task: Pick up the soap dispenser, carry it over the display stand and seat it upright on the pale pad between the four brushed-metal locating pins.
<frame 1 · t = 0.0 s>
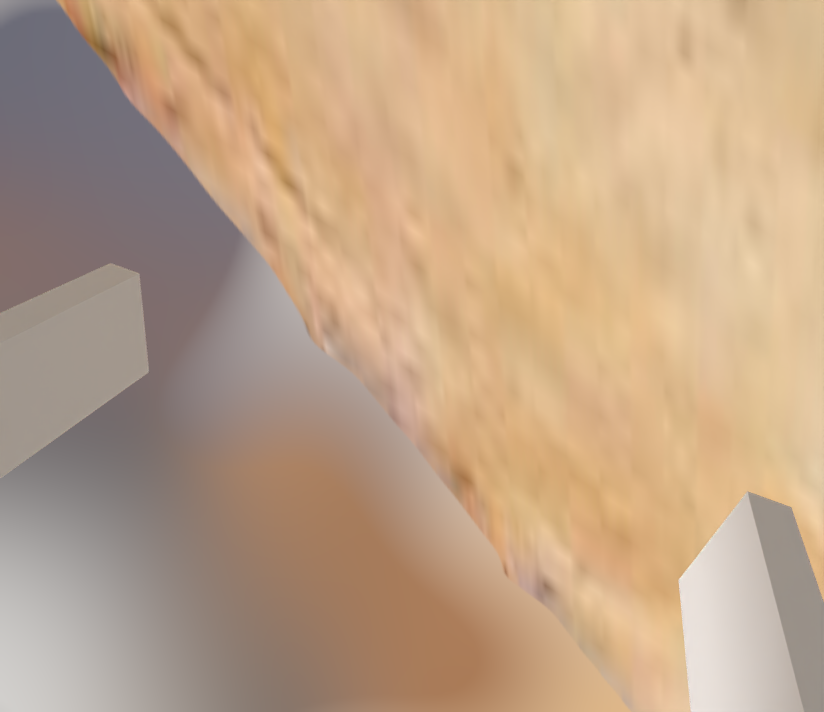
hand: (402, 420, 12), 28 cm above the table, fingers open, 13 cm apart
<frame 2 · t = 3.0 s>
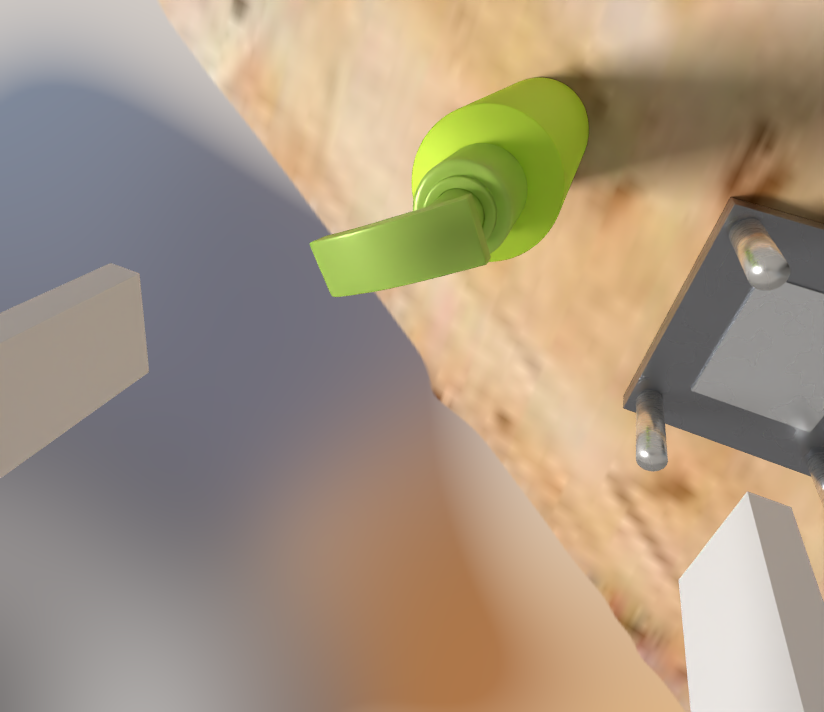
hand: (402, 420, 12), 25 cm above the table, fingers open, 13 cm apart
soap dispenser: (526, 137, 32), on the table
display stand: (781, 344, 33), on the table
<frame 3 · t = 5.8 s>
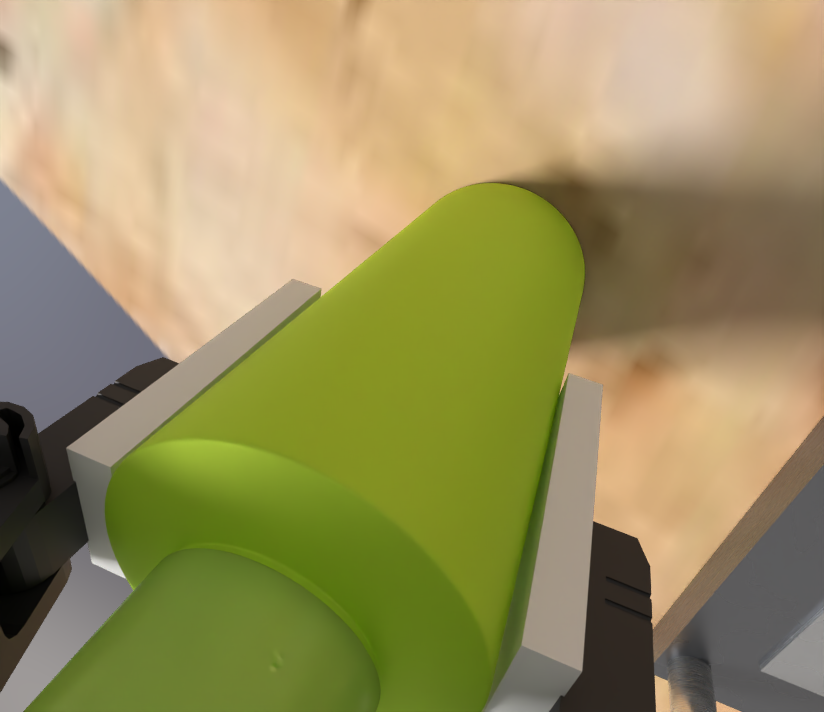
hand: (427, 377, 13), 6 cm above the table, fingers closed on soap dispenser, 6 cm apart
soap dispenser: (478, 275, 19), on the table, touching gripper
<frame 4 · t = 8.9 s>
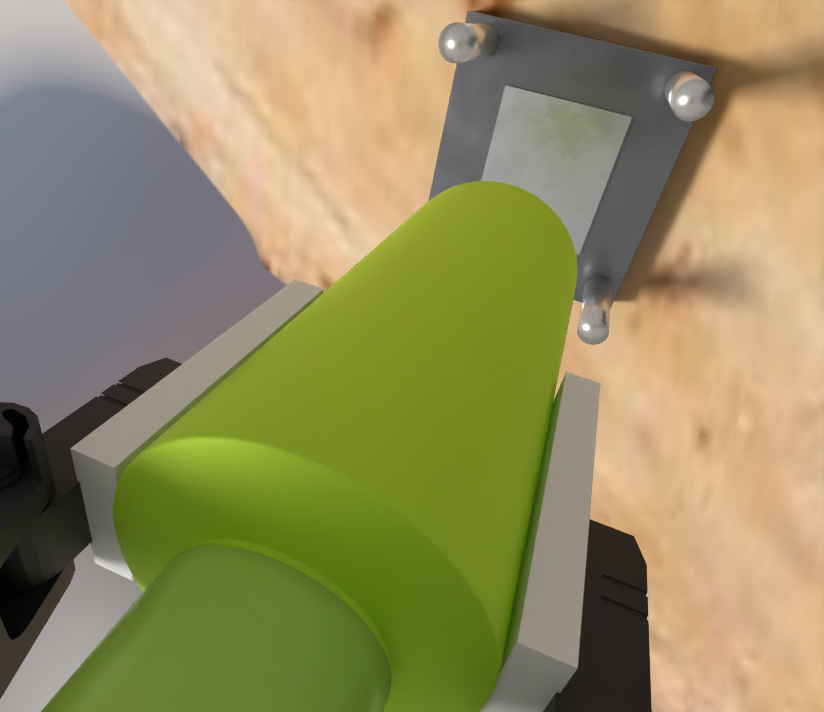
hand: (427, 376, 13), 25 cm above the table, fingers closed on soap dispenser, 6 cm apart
soap dispenser: (472, 272, 19), point 18 cm above the table, touching gripper
display stand: (547, 168, 33), on the table
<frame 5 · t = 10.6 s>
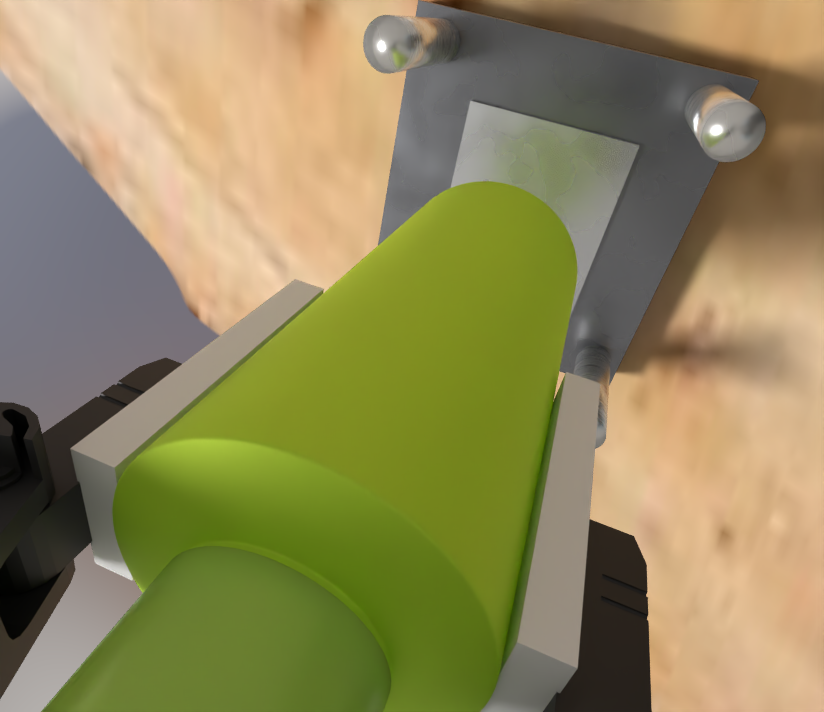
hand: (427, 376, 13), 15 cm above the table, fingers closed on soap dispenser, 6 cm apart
soap dispenser: (472, 272, 19), point 9 cm above the table, touching gripper
display stand: (528, 206, 26), on the table
when the fingers open (9 cm above the table, at t = 12.1 s): soap dispenser drops 1 cm, resting on display stand.
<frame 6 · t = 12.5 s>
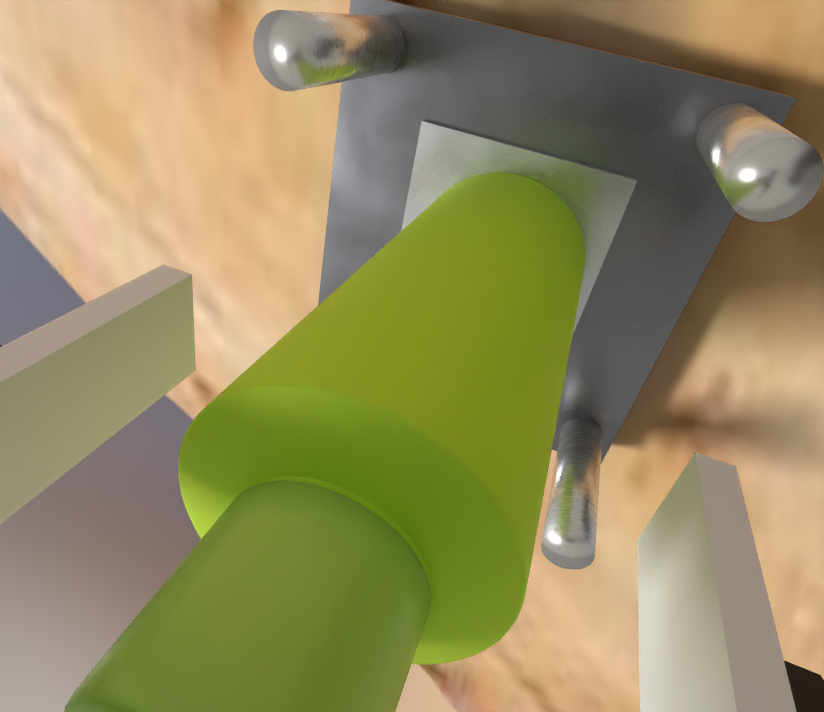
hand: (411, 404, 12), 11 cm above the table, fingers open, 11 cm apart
soap dispenser: (485, 260, 20), point 2 cm above the table, touching display stand
display stand: (500, 249, 21), on the table
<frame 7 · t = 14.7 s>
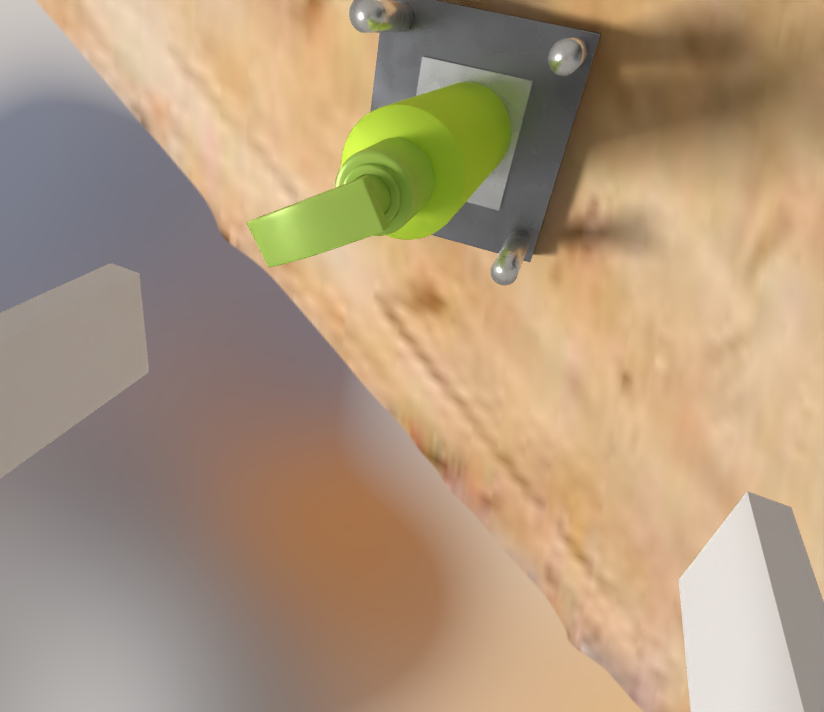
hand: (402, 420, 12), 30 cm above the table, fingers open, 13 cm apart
soap dispenser: (458, 135, 36), point 2 cm above the table, touching display stand
display stand: (468, 133, 37), on the table
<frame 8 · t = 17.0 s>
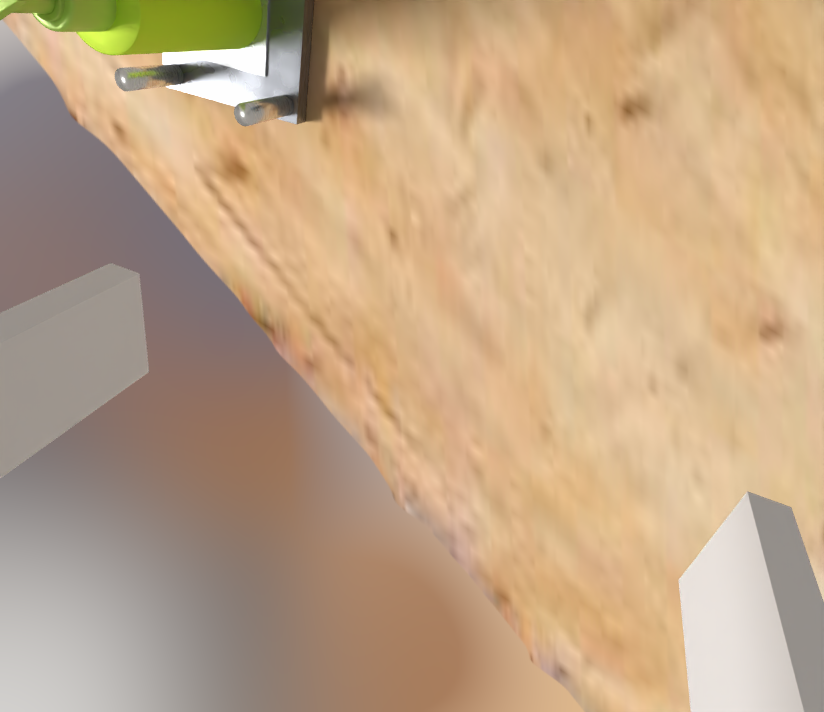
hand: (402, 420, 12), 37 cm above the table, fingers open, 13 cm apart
soap dispenser: (225, 9, 44), point 2 cm above the table, touching display stand
display stand: (240, 10, 45), on the table
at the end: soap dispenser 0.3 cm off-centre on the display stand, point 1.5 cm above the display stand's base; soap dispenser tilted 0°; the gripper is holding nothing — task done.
